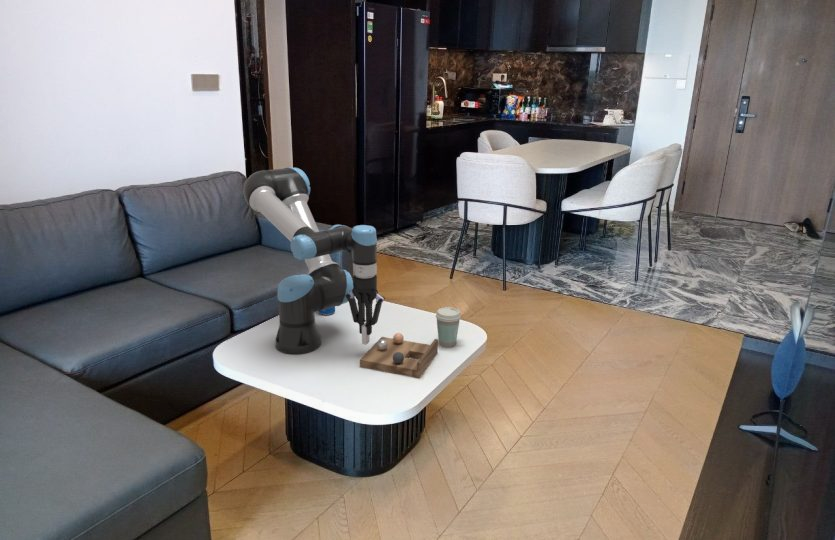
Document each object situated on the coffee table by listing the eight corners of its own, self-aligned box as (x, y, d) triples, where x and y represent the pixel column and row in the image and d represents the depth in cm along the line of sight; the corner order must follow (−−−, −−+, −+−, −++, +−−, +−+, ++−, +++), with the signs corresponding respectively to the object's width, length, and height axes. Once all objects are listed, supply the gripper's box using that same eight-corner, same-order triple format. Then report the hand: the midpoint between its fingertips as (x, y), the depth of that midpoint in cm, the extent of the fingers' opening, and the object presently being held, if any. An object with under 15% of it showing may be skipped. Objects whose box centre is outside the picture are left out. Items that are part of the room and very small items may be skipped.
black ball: (391, 364, 180) (391, 354, 179) (395, 359, 184) (395, 349, 182) (401, 366, 179) (401, 355, 178) (405, 361, 183) (405, 351, 181)
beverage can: (315, 315, 222) (314, 285, 218) (321, 308, 228) (320, 280, 224) (332, 316, 221) (331, 287, 217) (337, 310, 227) (336, 281, 223)
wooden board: (359, 366, 184) (359, 352, 182) (381, 343, 200) (381, 330, 198) (419, 378, 178) (420, 363, 176) (437, 353, 194) (437, 339, 192)
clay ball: (391, 344, 194) (391, 334, 193) (395, 340, 197) (395, 330, 196) (401, 346, 193) (401, 336, 191) (405, 341, 196) (405, 332, 195)
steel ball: (375, 351, 189) (375, 341, 188) (379, 346, 192) (379, 336, 191) (385, 352, 188) (385, 343, 187) (389, 348, 191) (389, 338, 190)
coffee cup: (457, 350, 196) (459, 317, 192) (432, 347, 197) (433, 315, 194) (461, 339, 204) (462, 307, 200) (437, 337, 205) (438, 305, 201)
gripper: (340, 275, 182) (342, 344, 190) (379, 281, 178) (379, 350, 186) (351, 268, 189) (352, 335, 196) (388, 273, 185) (388, 341, 192)
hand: (365, 342), depth 191 cm, fingers closed
